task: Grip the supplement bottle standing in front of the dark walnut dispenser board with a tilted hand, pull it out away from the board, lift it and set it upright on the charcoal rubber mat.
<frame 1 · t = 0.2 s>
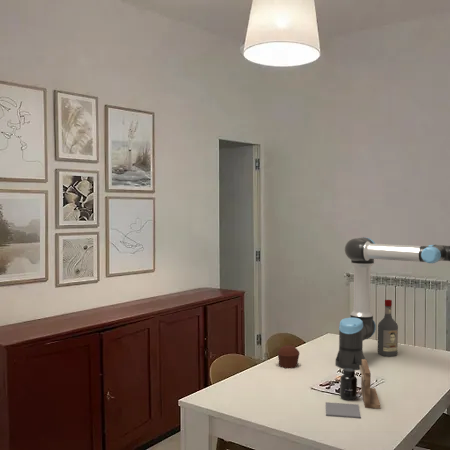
supplement bottle: (348, 398, 226), on the table
liquor: (387, 354, 294), on the table
dispenser board: (365, 399, 224), on the table
muffin: (288, 366, 271), on the table
rubber mat: (342, 410, 211), on the table
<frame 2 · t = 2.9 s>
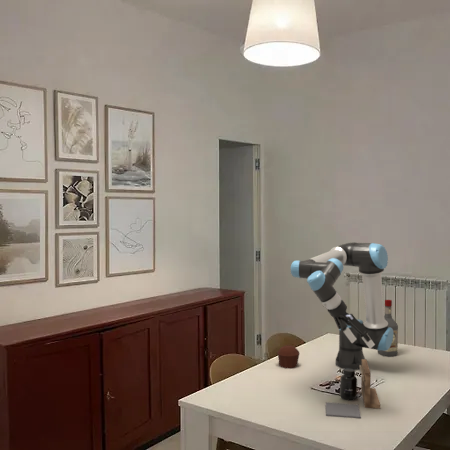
hand: (363, 343, 223), 24 cm above the table, tool tilted 40°, fingers open, 13 cm apart
nothing on the table moved.
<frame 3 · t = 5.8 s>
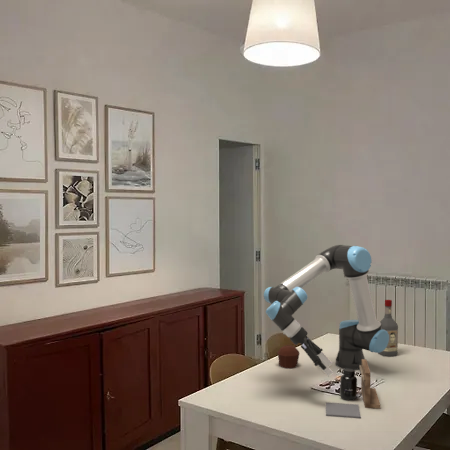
hand: (330, 369, 226), 12 cm above the table, tool tilted 45°, fingers open, 13 cm apart
nothing on the table moved.
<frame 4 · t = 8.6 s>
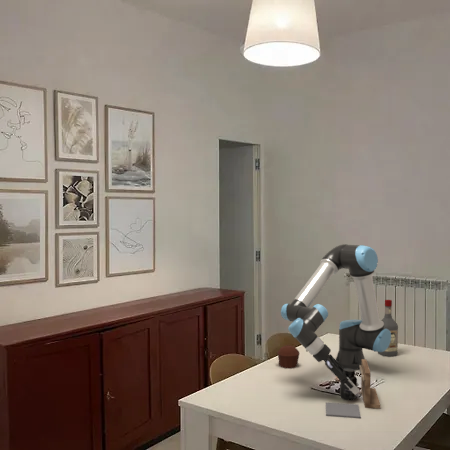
hand: (357, 389, 225), 4 cm above the table, tool tilted 45°, fingers closed on supplement bottle, 7 cm apart
supplement bottle: (348, 398, 226), on the table, touching gripper
everything else where it was.
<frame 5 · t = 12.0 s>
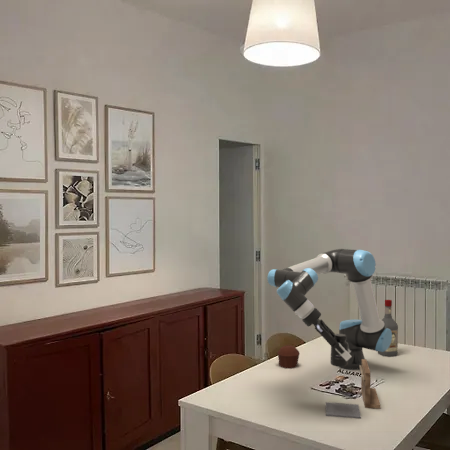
hand: (348, 356, 212), 21 cm above the table, tool tilted 45°, fingers closed on supplement bottle, 7 cm apart
supplement bottle: (339, 365, 213), point 17 cm above the table, touching gripper
everything else where it was.
when the fingers open (6 cm above the table, at t = 15.4 s): supplement bottle drops 1 cm, resting on rubber mat.
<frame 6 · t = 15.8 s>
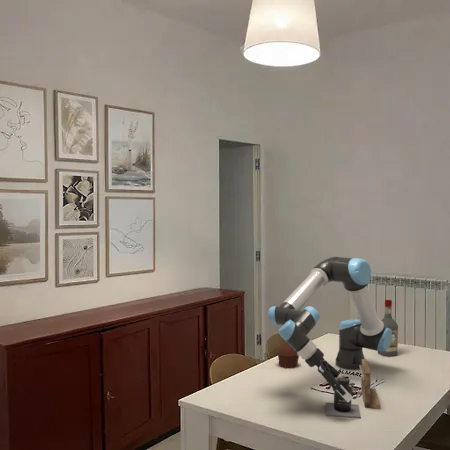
hand: (349, 394, 210), 7 cm above the table, tool tilted 45°, fingers open, 12 cm apart
supplement bottle: (342, 409, 211), resting on rubber mat
everything else where it was.
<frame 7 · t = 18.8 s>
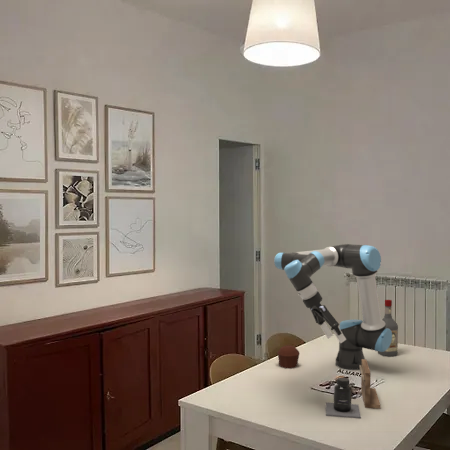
hand: (336, 339, 220), 26 cm above the table, tool tilted 30°, fingers open, 13 cm apart
nothing on the table moved.
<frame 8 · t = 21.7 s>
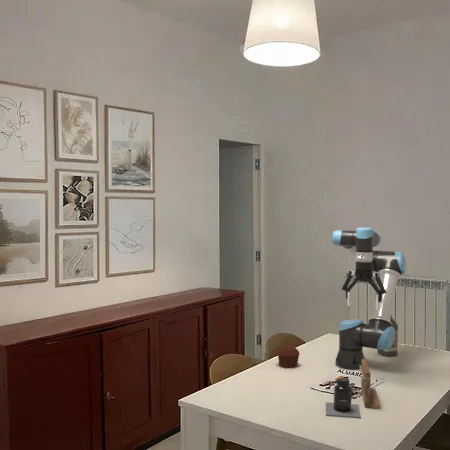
hand: (363, 307, 245), 35 cm above the table, tool pointing down, fingers open, 13 cm apart
nothing on the table moved.
at the end: supplement bottle inside the target area on the rubber mat (0.1 cm from its centre), point 0.4 cm above the rubber mat's base; supplement bottle tilted 0°; the gripper is holding nothing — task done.
